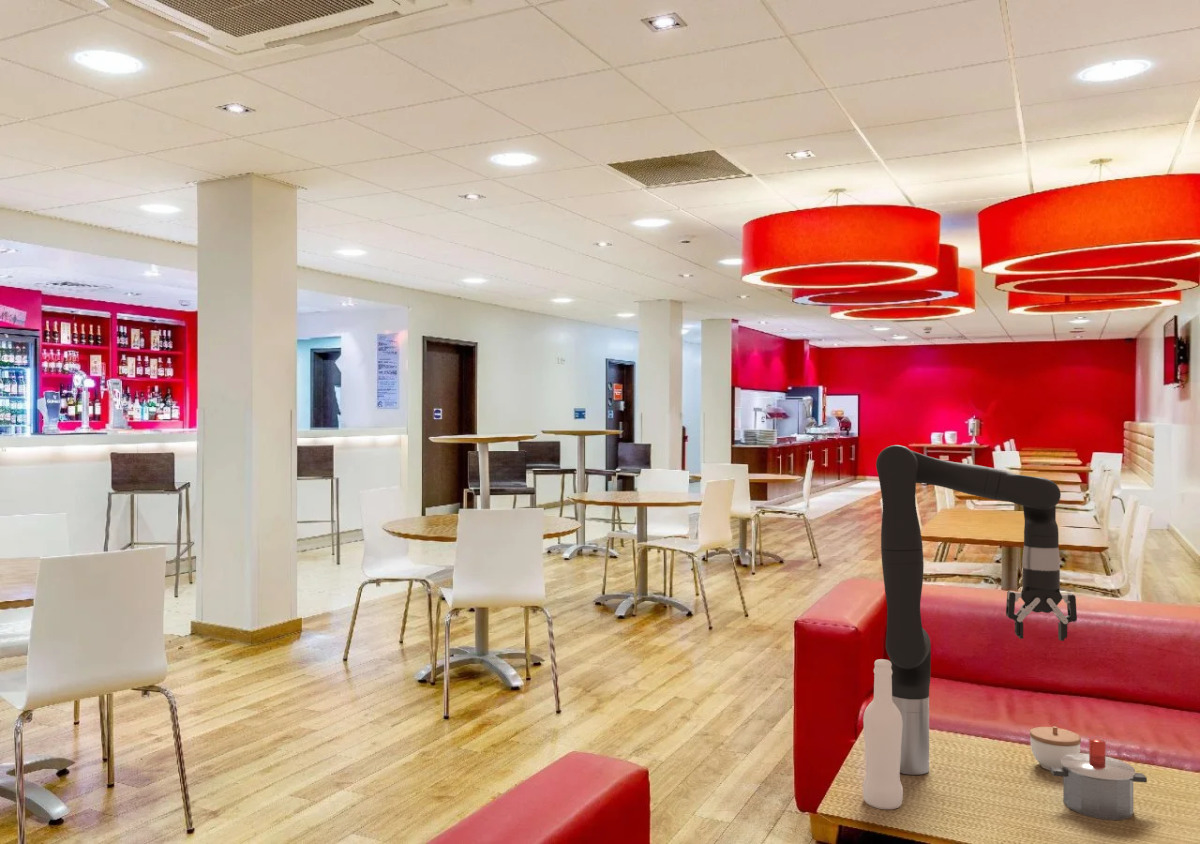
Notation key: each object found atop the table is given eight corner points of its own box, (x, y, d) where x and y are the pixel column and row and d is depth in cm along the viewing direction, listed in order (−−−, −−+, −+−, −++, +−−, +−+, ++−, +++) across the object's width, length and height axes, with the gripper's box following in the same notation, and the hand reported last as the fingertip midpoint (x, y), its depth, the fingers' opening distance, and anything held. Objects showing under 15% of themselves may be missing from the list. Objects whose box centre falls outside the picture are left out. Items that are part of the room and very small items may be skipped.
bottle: (882, 813, 188) (882, 667, 188) (854, 799, 195) (854, 658, 195) (911, 806, 191) (911, 662, 192) (882, 792, 199) (883, 654, 199)
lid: (1071, 782, 186) (1071, 749, 187) (1053, 759, 200) (1053, 728, 200) (1145, 788, 184) (1145, 754, 184) (1121, 764, 197) (1121, 732, 197)
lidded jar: (1069, 759, 219) (1069, 720, 219) (1089, 776, 209) (1088, 735, 209) (1023, 758, 220) (1023, 719, 220) (1039, 774, 210) (1039, 733, 210)
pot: (1060, 815, 187) (1060, 776, 187) (1043, 792, 199) (1043, 755, 199) (1156, 823, 184) (1156, 783, 184) (1133, 799, 196) (1133, 761, 196)
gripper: (1011, 568, 203) (1011, 641, 203) (1080, 570, 200) (1080, 644, 200) (1003, 563, 210) (1003, 634, 210) (1070, 565, 208) (1070, 637, 207)
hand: (1040, 639), depth 205 cm, fingers open, 8 cm apart
